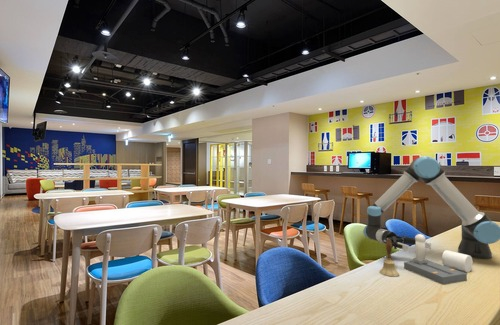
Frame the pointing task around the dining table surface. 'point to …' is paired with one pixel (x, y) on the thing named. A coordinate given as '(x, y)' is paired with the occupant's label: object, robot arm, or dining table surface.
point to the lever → (420, 249)
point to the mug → (457, 261)
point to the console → (436, 272)
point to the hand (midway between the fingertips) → (419, 247)
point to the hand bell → (389, 262)
